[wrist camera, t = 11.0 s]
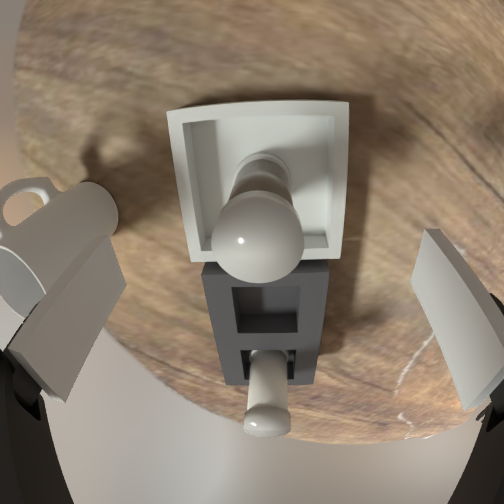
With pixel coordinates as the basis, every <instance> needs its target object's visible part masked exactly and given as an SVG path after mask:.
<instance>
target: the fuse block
mask: <svg viewBox="0 0 504 504" xmlns="http://www.w3.org/2000/svg"><path fill="white" fill-rule="evenodd" d="M329 274H330V271H329V268H328V264H327V261H326V259H305V260H300V262H299V263H298V265H297V266H296V267H295V269H293V270H292V271H291V272H290V273H289V274H287V275H286V276H284V277H283V278H281V279H278V280H276V281H272V282H267V283H250V282H246V281H242V280H239V279H237V278H235V277H233V276H231V275H230V274H228V273H227V272H226V271H225V270H224V269H223V268H222V267H221V266H220V265H219V264H218V262H217V261H216V262H205V265H204V268H203V271H202V274H201V276H202V281H203V286H204V291H205V296H206V300H207V305H208V310H209V314H210V319H211V323H212V328H213V332H214V337H215V341H216V345H217V350H218V354H219V358H220V362H221V366H222V370H223V374H224V378H225V382H226V385H249V379H250V366H251V362H250V360H249V354H250V350H288V354H289V360H288V362H287V382H288V385H307V384H313V381H314V376H315V370H316V365H317V359H318V353H319V347H320V341H321V335H322V328H323V321H324V314H325V307H326V299H327V291H328V283H329Z"/></svg>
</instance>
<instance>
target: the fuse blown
mask: <svg viewBox="0 0 504 504" xmlns="http://www.w3.org/2000/svg"><path fill="white" fill-rule="evenodd" d="M291 186H292V183H291V177H290V173H289V170H288V167H287V165H286V164H285V163H284V161H283V160H282V159H280V158H279V157H278V156H276V155H274V154H271V153H267V152H257V153H253V154H250V155H248V156H247V157H245V158H244V159H243V160H242V161H241V162H240V163H239V165H238V167H237V169H236V171H235V174H234V177H233V188H232V191H231V194H230V197H229V199H228V202H227V203H226V204H225V206H224V207H223V208H222V210H221V212H220V214H219V216H218V219H217V222H216V224H215V227H214V230H213V233H212V238H211V246H212V251H213V254H214V257H215V259H216V261H217V262H218V264H219V265H220V266H221V267H222V268H223V269H224V270H225V271H226V272H227V273H228V274H230V275H231V276H233V277H235V278H237V279H239V280H242V281H246V282H250V283H267V282H272V281H276V280H278V279H281V278H283V277H284V276H286V275H287V274H289V273H290V272H291V271H292V270H293V269H295V267H296V266H297V265H298V263H299V262H300V260H301V258H302V255H303V252H304V236H303V231H302V226H301V222H300V218H299V215H298V213H297V211H296V210H295V208H294V206H293V201H292V196H291Z"/></svg>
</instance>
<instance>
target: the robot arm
mask: <svg viewBox="0 0 504 504" xmlns="http://www.w3.org/2000/svg"><path fill="white" fill-rule="evenodd" d="M410 284H411V286H412V288H413V290H414V292H415V294H416V296H417V298H418V300H419V302H420V304H421V306H422V308H423V310H424V312H425V314H426V316H427V318H428V321H429V323H430V325H431V327H432V329H433V332H434V334H435V336H436V339H437V341H438V343H439V346H440V348H441V350H442V353H443V355H444V358H445V360H446V363H447V365H448V368H449V371H450V373H451V376H452V379H453V381H454V384H455V387H456V390H457V393H458V396H459V399H460V402H461V405H462V408H463V411H465V410H468V409H471V408H474V407H477V406H480V405H481V404H482V403H483V402H484V401H485V399H487V398H488V396H490V398H491V401H492V402H491V403H490V404H489V405H488V406H487V407H486V408H485V409H484V410H483V411H482V412H481V413H480V414H479V415H478V416H477V418H476V420H477V421H478V420H479V419H480V418H481V417H482V416H484V415H485V417H484V419H483V420H482V426H481V429H480V432H479V435H478V437H477V440H476V443H475V446H474V448H473V451H472V453H471V456H470V458H469V461H468V463H467V465H466V467H465V470H464V472H463V474H462V476H461V478H460V480H459V482H458V485H457V486H456V489H455V491H454V492H453V495H452V496H451V498H450V500H449V502H448V504H504V305H503V304H502V302H501V301H500V300H499V299H497V298H496V297H495V296H494V295H493V294H492V293H488V291H487V290H486V288H485V287H484V285H483V284H482V283H481V281H480V280H479V278H478V277H477V276H476V274H475V273H474V272H473V270H472V269H471V268H470V266H469V265H468V264H467V262H466V261H465V260H464V258H463V257H462V256H461V255H460V253H459V252H458V251H457V250H456V248H455V247H454V246H453V245H452V243H451V242H450V241H449V240H448V239H447V238H446V236H445V235H444V234H443V233H442V232H441V230H440V229H424V233H423V237H422V241H421V245H420V249H419V253H418V256H417V260H416V263H415V267H414V270H413V274H412V277H411V280H410ZM125 287H126V282H125V280H124V277H123V274H122V272H121V269H120V266H119V263H118V261H117V258H116V255H115V252H114V249H113V246H112V243H111V240H110V237H109V235H95V236H94V237H93V238H92V240H91V241H90V242H89V243H88V244H87V245H86V246H85V247H84V248H83V250H82V251H81V252H80V253H79V254H78V255H77V256H76V258H75V259H74V260H73V261H72V262H71V263H70V265H69V266H68V267H67V268H66V269H65V271H64V272H63V273H62V274H61V275H60V277H59V278H58V279H57V280H56V282H55V283H54V284H53V285H52V287H51V288H50V289H49V290H48V292H47V293H46V294H45V296H44V297H43V298H42V299H41V300H40V301H39V302H38V303H37V304H36V305H35V306H34V307H33V309H32V310H31V311H30V313H29V316H27V317H26V318H25V320H24V321H23V324H21V325H20V327H19V328H18V330H17V331H16V333H15V334H14V336H13V337H12V339H11V341H10V342H9V344H8V345H7V346H6V348H5V349H4V351H3V352H2V350H1V349H0V504H74V503H73V500H72V498H71V495H70V493H69V490H68V488H67V485H66V482H65V479H64V476H63V473H62V471H61V467H60V464H59V461H58V458H57V455H56V451H55V447H54V444H53V440H52V436H51V432H50V428H49V423H48V419H47V414H46V409H45V403H44V400H43V397H42V396H41V395H40V392H41V390H42V389H43V390H44V391H45V392H46V393H47V394H48V395H49V396H50V397H51V398H53V399H55V400H58V401H61V402H63V403H66V400H67V398H68V396H69V393H70V391H71V389H72V387H73V385H74V383H75V381H76V378H77V376H78V374H79V372H80V370H81V368H82V366H83V364H84V362H85V360H86V358H87V356H88V354H89V352H90V350H91V348H92V346H93V344H94V342H95V340H96V339H97V337H98V335H99V333H100V331H101V329H102V327H103V326H104V324H105V322H106V320H107V318H108V316H109V315H110V313H111V311H112V309H113V308H114V306H115V304H116V302H117V301H118V299H119V297H120V295H121V294H122V292H123V290H124V289H125Z"/></svg>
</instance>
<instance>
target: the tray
mask: <svg viewBox="0 0 504 504" xmlns="http://www.w3.org/2000/svg"><path fill="white" fill-rule="evenodd" d="M167 119H168V127H169V135H170V142H171V149H172V156H173V163H174V169H175V176H176V182H177V188H178V194H179V200H180V206H181V212H182V217H183V223H184V228H185V233H186V239H187V244H188V249H189V254H190V259H191V262H216V259H215V257H214V254H213V251H212V246H211V238H212V233H213V230H214V227H215V224H216V222H217V219H218V216H219V214H220V212H221V210H222V208H223V207H224V206H225V204H226V203H227V202H228V199H229V197H230V194H231V191H232V188H233V177H234V174H235V171H236V169H237V167H238V165H239V163H240V162H241V161H242V160H243V159H244V158H245V157H247V156H248V155H250V154H253V153H257V152H267V153H271V154H274V155H276V156H278V157H279V158H280V159H282V160H283V161H284V163H285V164H286V165H287V167H288V170H289V173H290V177H291V183H292V186H291V196H292V201H293V206H294V208H295V210H296V211H297V213H298V215H299V218H300V222H301V226H302V231H303V236H304V252H303V255H302V258H301V260H305V259H340V255H341V246H342V237H343V226H344V215H345V203H346V188H347V171H348V145H349V102H344V101H337V100H309V99H283V100H254V101H239V102H226V103H216V104H207V105H198V106H191V107H184V108H178V109H174V110H170V111H167Z"/></svg>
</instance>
